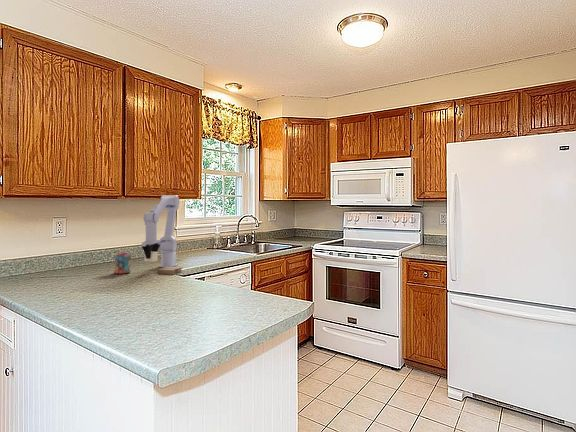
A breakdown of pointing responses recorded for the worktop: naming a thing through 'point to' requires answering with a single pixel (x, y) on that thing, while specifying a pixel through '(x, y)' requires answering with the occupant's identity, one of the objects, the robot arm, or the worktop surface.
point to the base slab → (169, 270)
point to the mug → (122, 263)
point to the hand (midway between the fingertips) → (151, 257)
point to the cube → (152, 257)
